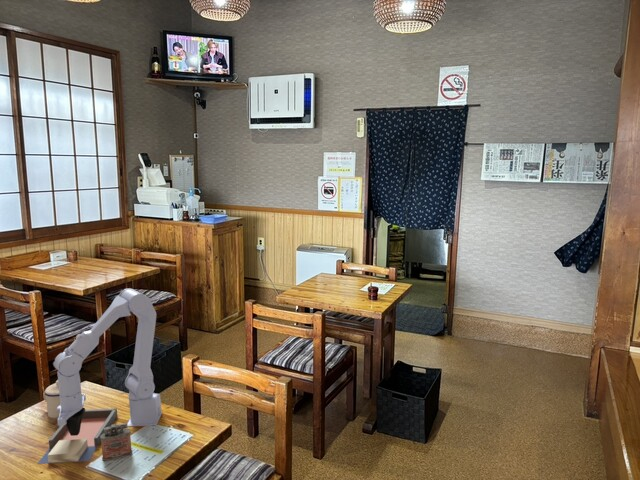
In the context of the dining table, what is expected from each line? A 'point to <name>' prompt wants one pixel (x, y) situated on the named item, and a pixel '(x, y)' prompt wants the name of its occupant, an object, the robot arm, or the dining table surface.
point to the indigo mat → (84, 457)
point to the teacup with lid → (52, 400)
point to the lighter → (116, 442)
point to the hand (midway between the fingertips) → (75, 434)
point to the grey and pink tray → (87, 427)
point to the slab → (67, 450)
